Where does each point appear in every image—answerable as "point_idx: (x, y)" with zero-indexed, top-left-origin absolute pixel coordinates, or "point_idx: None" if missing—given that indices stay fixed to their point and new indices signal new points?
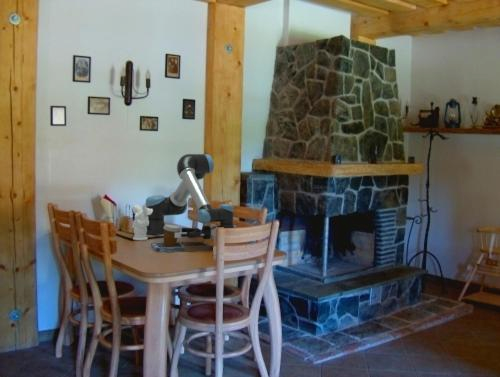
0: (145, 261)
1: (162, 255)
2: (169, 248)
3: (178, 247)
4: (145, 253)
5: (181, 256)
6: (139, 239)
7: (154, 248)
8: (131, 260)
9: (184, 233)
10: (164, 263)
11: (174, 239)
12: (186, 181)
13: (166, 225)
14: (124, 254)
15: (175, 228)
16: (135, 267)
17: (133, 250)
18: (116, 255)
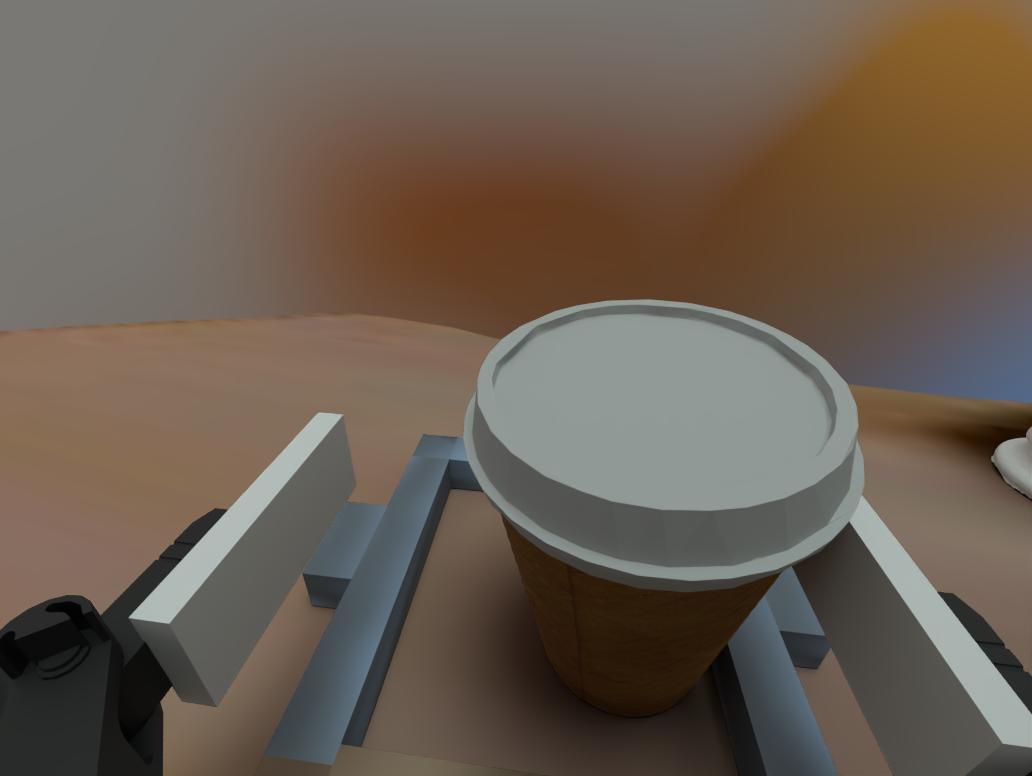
0: (198, 368)
1: (265, 468)
2: (346, 522)
3: (329, 642)
4: (415, 406)
5: (39, 603)
6: (1002, 467)
7: None
8: (283, 339)
9: (193, 573)
10: (20, 419)
11: (522, 577)
12: None
13: (688, 327)
14: (444, 343)
15: (476, 403)
16: (130, 328)
17: None
18: (437, 325)
